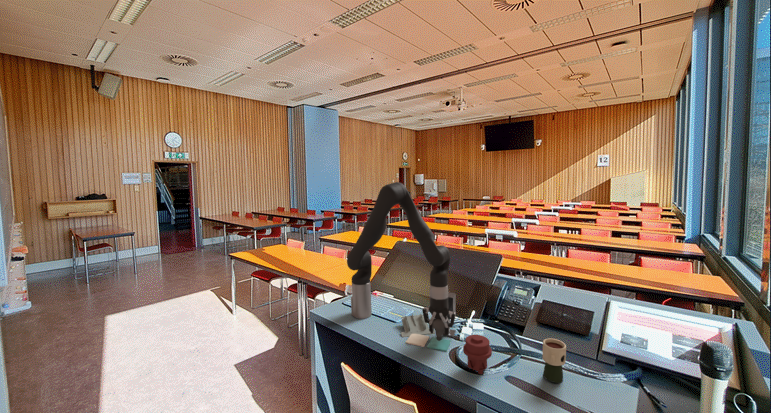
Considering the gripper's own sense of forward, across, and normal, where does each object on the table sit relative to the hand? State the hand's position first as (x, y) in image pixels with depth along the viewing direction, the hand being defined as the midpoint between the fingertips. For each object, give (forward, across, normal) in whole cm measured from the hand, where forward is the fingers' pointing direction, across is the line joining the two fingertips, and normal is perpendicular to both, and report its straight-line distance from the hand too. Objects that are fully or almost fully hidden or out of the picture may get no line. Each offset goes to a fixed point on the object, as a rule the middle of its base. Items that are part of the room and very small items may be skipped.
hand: (439, 333), depth 139 cm
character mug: (+5, +42, -7) cm, 43 cm away
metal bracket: (+6, -14, +9) cm, 17 cm away
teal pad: (+5, 0, 0) cm, 5 cm away
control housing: (+5, +1, +10) cm, 11 cm away
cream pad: (+5, -9, 0) cm, 11 cm away
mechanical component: (+5, +17, -11) cm, 21 cm away
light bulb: (+3, 0, 0) cm, 3 cm away
